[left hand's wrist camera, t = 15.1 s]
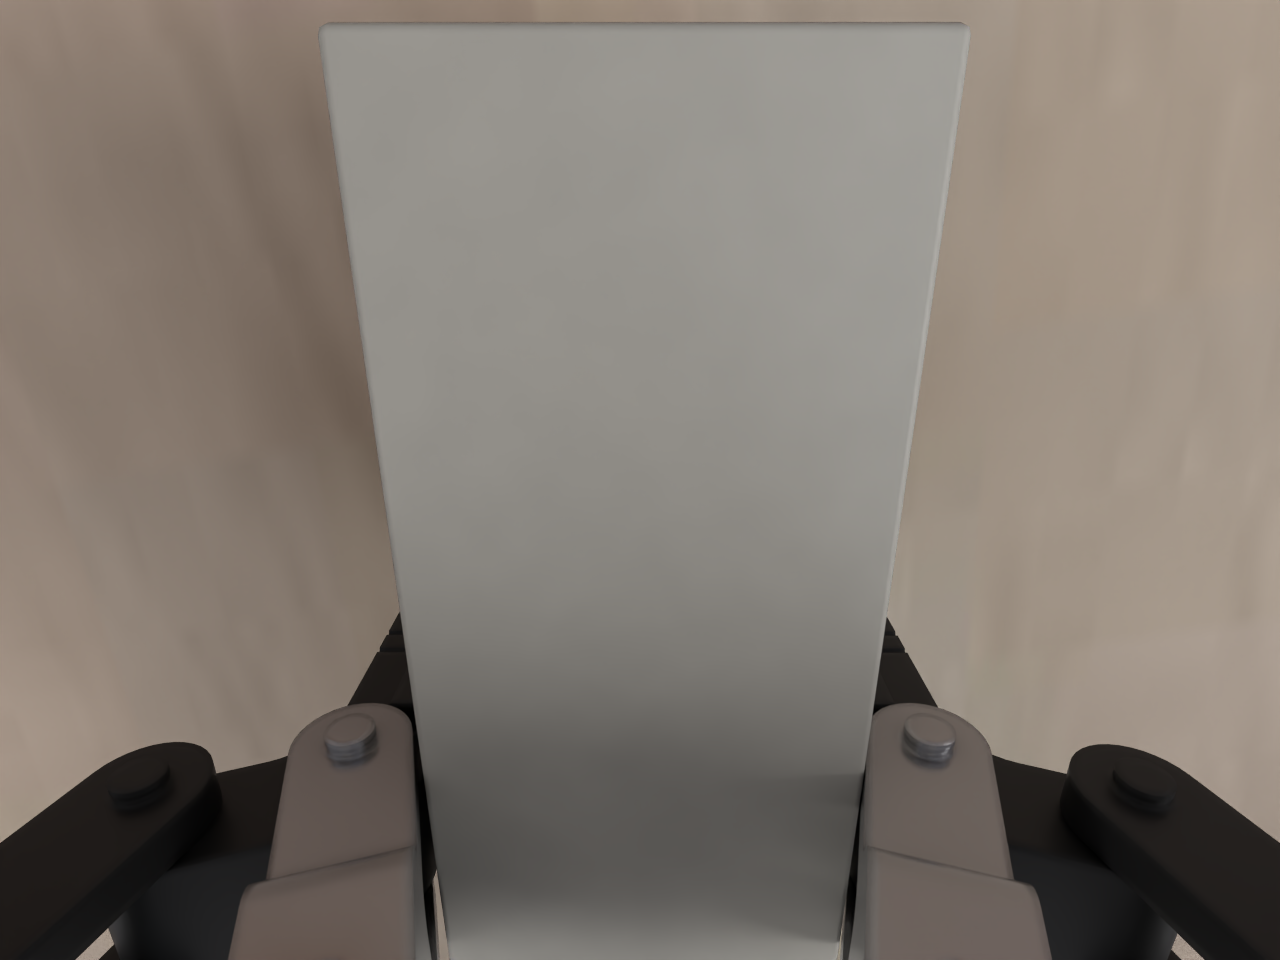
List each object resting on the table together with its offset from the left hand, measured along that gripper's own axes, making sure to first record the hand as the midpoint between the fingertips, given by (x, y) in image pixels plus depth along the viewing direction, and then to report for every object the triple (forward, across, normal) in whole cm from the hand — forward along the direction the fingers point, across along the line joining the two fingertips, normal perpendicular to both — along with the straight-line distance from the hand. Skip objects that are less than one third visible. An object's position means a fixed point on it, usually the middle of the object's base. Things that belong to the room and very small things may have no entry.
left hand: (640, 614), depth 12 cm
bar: (+2, 0, +29) cm, 29 cm away
